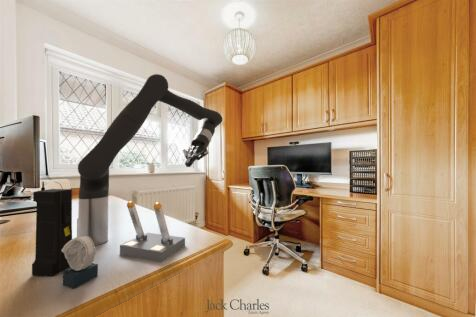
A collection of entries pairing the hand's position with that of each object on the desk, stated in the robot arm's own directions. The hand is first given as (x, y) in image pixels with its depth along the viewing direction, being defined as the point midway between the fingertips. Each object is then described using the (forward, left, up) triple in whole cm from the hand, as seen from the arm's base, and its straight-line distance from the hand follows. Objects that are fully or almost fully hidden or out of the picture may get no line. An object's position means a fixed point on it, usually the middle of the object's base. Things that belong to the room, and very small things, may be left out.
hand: (187, 165), depth 80 cm
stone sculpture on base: (-8, -35, -29) cm, 47 cm away
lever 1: (-9, -15, -25) cm, 31 cm away
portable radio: (-20, -34, -29) cm, 49 cm away
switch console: (-3, -15, -29) cm, 33 cm away
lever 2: (+2, -15, -25) cm, 30 cm away
